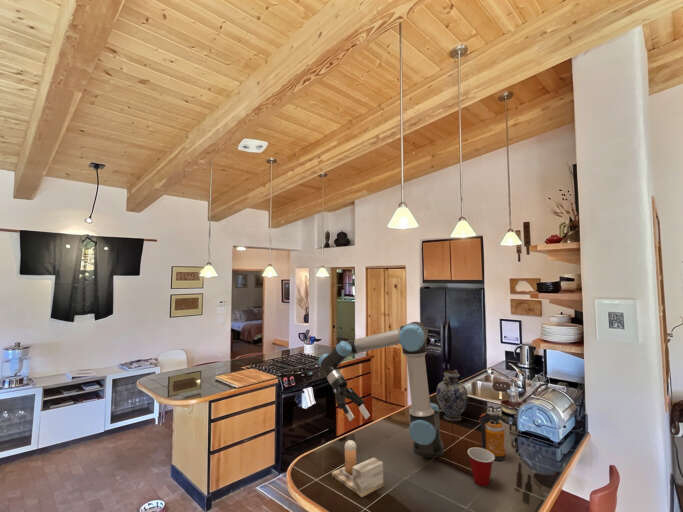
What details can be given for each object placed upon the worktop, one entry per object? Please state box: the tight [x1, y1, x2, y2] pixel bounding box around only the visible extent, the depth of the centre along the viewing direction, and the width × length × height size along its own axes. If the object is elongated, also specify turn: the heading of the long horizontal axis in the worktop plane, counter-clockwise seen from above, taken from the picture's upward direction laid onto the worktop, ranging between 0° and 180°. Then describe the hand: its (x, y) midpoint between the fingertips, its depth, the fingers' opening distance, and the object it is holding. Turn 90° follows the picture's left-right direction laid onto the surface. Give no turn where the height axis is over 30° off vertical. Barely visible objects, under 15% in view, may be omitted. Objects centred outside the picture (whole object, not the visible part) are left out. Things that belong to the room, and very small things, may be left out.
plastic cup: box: [467, 446, 495, 487], centre depth 149 cm, size 11×11×12 cm
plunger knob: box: [344, 439, 357, 476], centre depth 155 cm, size 5×5×14 cm
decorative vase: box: [435, 369, 469, 422], centre depth 218 cm, size 21×19×28 cm
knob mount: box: [331, 457, 384, 498], centre depth 152 cm, size 20×12×10 cm, turn 38°
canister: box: [479, 412, 507, 461], centre depth 170 cm, size 9×11×20 cm
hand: (360, 418), depth 165 cm, fingers open, 13 cm apart
